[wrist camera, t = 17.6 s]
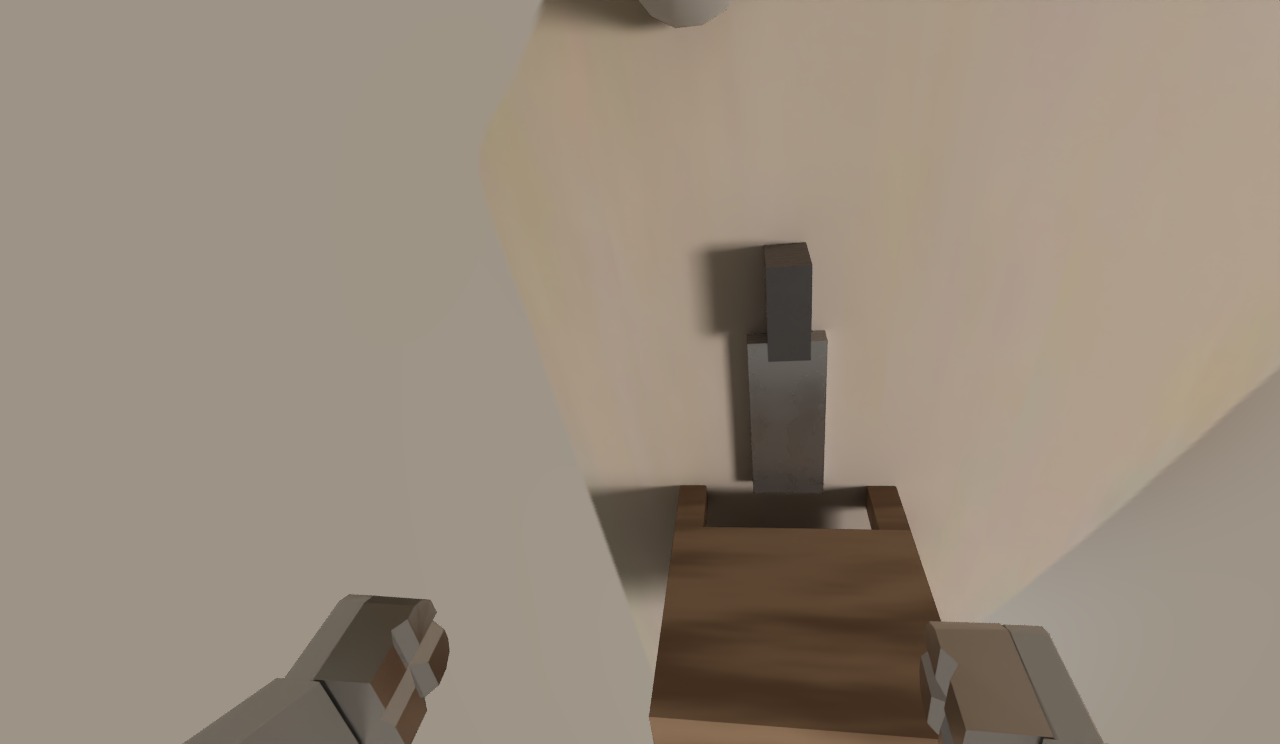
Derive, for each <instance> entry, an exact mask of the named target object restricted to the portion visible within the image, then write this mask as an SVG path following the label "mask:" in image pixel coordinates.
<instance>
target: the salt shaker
mask: <svg viewBox="0 0 1280 744" xmlns="http://www.w3.org/2000/svg"><path fill="white" fill-rule="evenodd" d="M731 1H732V0H639V2H640V3H641V4H642V5H643V7H644V8H645V9H646V10H647V11H648V13H649V14H650V15H651V16H652V17H654V18H656V19H658V20H660V21H662V22H664V23H666V24H668V25H670V26H672V27H674V28H680V27H689V26H699V25H703V24H704V23H706V22H708V21H709V20H711V19H713V18H714V17H716V16H717V15H719V14H721V13H722V12H724V11H726V9H727V8H728V6H729V5H730V3H731Z"/></svg>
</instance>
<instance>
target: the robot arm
mask: <svg viewBox="0 0 1280 744" xmlns="http://www.w3.org/2000/svg"><path fill="white" fill-rule="evenodd" d="M436 613H437V612H436V610H435V608H434V606H433V604H432V602H431V600H427V599H412V598H399V597H398V598H397V597H384V596H372V595H352V594H349V595H347V596H346V597H345V598H343V599H342V600H340V601H339V602H338V604H337V605H336V606H335V608H334V609H333V611H332V612H331V614H330V615H329V616H328V618H327V619H326V621H325V622H324V623H323V625H322V626H321V628H320V629H319V630H318V632H317V633H316V635H315V636H314V638H313V639H312V640H311V642H310V643H309V644H308V646H307V647H306V649H305V650H304V651H303V653H302V654H301V656H300V657H299V658H298V660H297V661H296V663H295V664H294V666H293V667H292V668H291V670H290V671H289V672H288V674H287V675H286V677H285V678H276V679H275V680H274V681H272V682H270V683H269V684H268V685H266V686H265V687H263V688H262V689H260V690H259V691H258V692H256V693H255V694H253V695H252V696H251V697H249V698H247V699H246V700H245V701H243V702H242V703H241V704H239V705H237V706H236V707H235V708H233V709H232V710H230V711H229V712H227V713H226V714H225V715H223V716H222V717H220V718H219V719H217V720H216V721H214V722H213V723H212V724H210V725H209V726H207V727H206V728H205V729H203V730H202V731H200V732H199V733H197V734H196V735H194V736H193V737H192V738H190V739H189V740H187V741H186V742H184V743H183V744H411V743H412V741H413V739H414V737H415V735H416V733H417V730H418V728H419V726H420V724H421V722H422V720H423V718H424V716H425V714H426V712H427V708H426V702H425V696H427V695H428V694H429V693H430V692H431V691H433V690H434V689H435V688H436V687H437V686H438V685H439V684H440V681H441V679H442V677H443V675H444V672H445V670H446V666H447V661H448V656H449V642H448V637H447V635H446V632H445V630H444V629H443V628H442V627H441V626H439V625H438V624H437V623H436V622H434V621H433V619H434V617H435V614H436ZM924 639H925V643H926V646H927V650H928V651H927V652H926V653H925V654H923V655H922V656H921V659H920V668H919V676H920V691H921V697H922V703H923V708H924V712H925V716H926V720H927V723H928V724H929V725H930V726H931V728H932V729H933V730H934V731H935V732H936V733H937V734H938V735H939V737H938V742H937V744H1105V743H1103V741H1102V738H1101V736H1100V734H1099V733H1098V731H1097V728H1096V726H1095V724H1094V722H1093V721H1092V718H1091V716H1090V715H1089V712H1088V710H1087V708H1086V706H1085V704H1084V702H1083V700H1082V698H1081V696H1080V694H1079V692H1078V690H1077V688H1076V686H1075V684H1074V682H1073V680H1072V678H1071V676H1070V674H1069V672H1068V670H1067V668H1066V666H1065V664H1064V662H1063V660H1062V658H1061V656H1060V654H1059V652H1058V650H1057V648H1056V646H1055V644H1054V642H1053V640H1052V638H1051V636H1050V634H1049V633H1048V632H1047V631H1046V630H1045V629H1044V628H1043V627H1042V626H1027V625H1001V624H999V623H969V622H937V621H929V622H928V623H927V625H926V628H925V633H924Z"/></svg>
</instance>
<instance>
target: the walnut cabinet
mask: <svg viewBox="0 0 1280 744" xmlns="http://www.w3.org/2000/svg"><path fill="white" fill-rule="evenodd" d="M707 509H708V502H707V490H706V486H681V487H680V495H679V502H678V509H677V516H676V524H675V531H674V538H673V546H672V553H671V560H670V567H669V575H668V582H667V589H666V597H665V604H664V611H663V618H662V626H661V633H660V640H659V647H658V655H657V662H656V669H655V677H654V684H653V692H652V698H651V706H650V713H649V720H650V725H651V730H652V735H653V740H654V744H937V742H938V737H939V735H938V734H937V733H936V732H935V731H934V730H933V729H932V728H931V726H930V725H929V724H928V723H927V720H926V716H925V712H924V708H923V703H922V697H921V691H920V676H919V668H920V659H921V656H922V655H923V654H925V653H926V652H927V651H928V650H927V646H926V643H925V639H924V633H925V628H926V625H927V623H928V622H929V621H937V622H941V620H940V617H939V614H938V611H937V608H936V605H935V602H934V599H933V596H932V593H931V590H930V587H929V584H928V581H927V578H926V575H925V572H924V569H923V566H922V563H921V560H920V557H919V554H918V551H917V548H916V545H915V542H914V539H913V536H912V533H911V530H910V527H909V524H908V521H907V518H906V515H905V512H904V509H903V506H902V503H901V500H900V497H899V494H898V491H897V488H896V487H880V486H868V487H867V499H866V509H867V513H868V517H869V521H870V525H871V529H872V530H861V529H803V528H745V527H706V523H707Z"/></svg>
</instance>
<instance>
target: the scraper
mask: <svg viewBox="0 0 1280 744" xmlns="http://www.w3.org/2000/svg"><path fill="white" fill-rule="evenodd" d="M764 265H765V305H766V333H758V334H747V351H748V375H749V398H750V422H751V445H752V469H753V493H823V478H824V445H825V411H826V378H827V344H828V340H827V337H826V333H825V330H822V331H811V318H812V262H811V259H810V255H809V251H808V248H807V244H806V242H805V243H792V244H778V245H764Z"/></svg>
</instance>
